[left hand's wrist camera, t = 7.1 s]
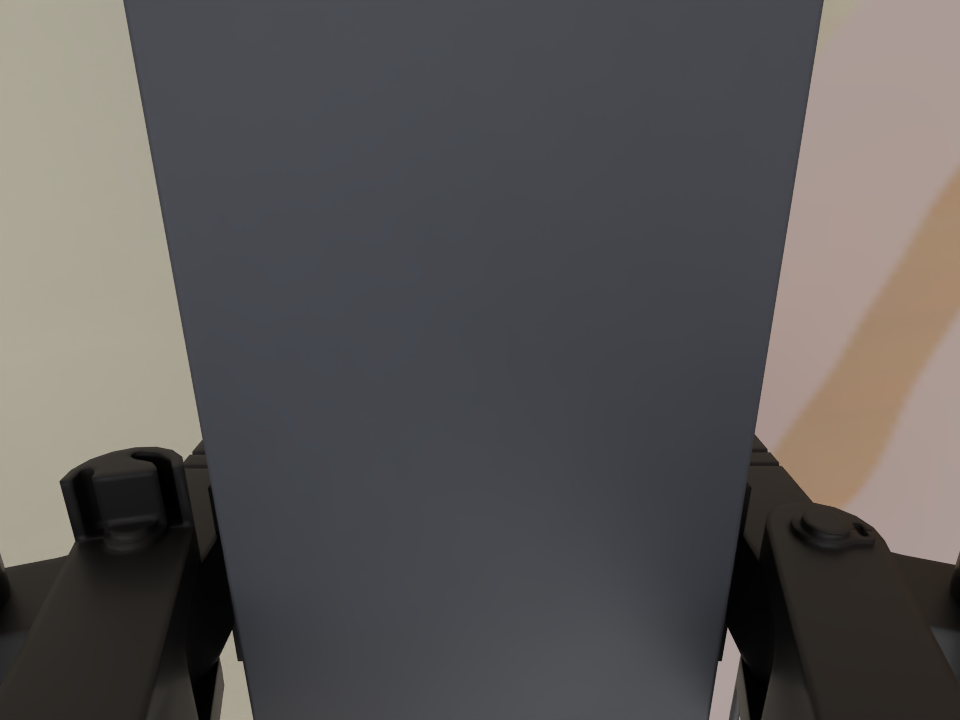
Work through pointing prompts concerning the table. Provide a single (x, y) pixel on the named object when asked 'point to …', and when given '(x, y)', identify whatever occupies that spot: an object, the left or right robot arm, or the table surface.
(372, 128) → the beam
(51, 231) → the table surface
